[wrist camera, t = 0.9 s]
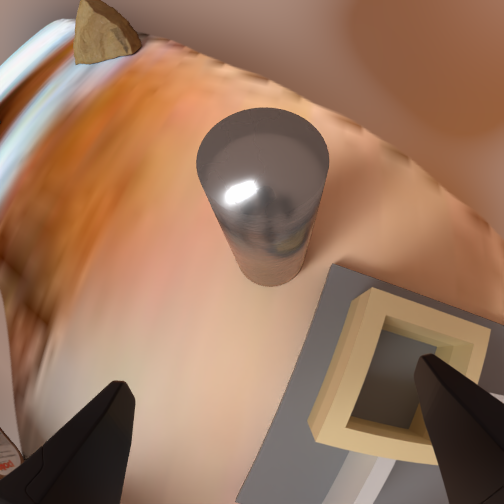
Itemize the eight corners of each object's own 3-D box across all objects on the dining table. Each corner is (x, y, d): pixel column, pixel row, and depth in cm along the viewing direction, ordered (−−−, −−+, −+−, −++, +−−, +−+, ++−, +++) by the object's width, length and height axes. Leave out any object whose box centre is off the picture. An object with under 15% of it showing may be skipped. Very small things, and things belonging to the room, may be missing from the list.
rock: (159, 25, 31) (125, 7, 32) (112, 7, 24) (83, -7, 25) (119, 90, 36) (92, 65, 38) (70, 84, 29) (48, 58, 30)
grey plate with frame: (439, 527, 14) (468, 555, 9) (236, 496, 18) (224, 535, 12) (515, 333, 19) (559, 325, 13) (330, 267, 22) (347, 239, 17)
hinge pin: (291, 296, 22) (306, 234, 10) (226, 272, 23) (174, 192, 11) (312, 234, 23) (341, 126, 11) (251, 213, 24) (227, 97, 12)
